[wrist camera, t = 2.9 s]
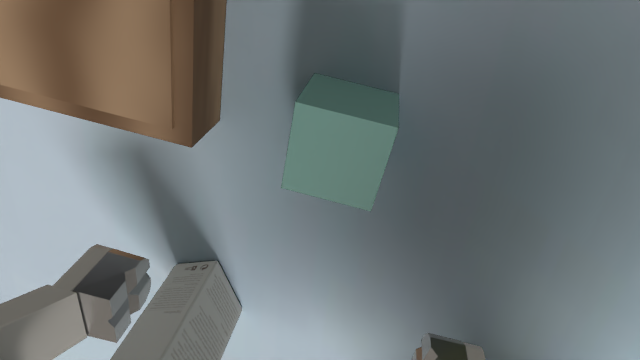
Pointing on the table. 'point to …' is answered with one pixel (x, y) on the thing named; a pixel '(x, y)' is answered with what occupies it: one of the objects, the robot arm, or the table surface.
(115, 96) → the tray
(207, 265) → the skincare box
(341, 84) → the teal cube
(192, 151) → the table surface
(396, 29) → the table surface
